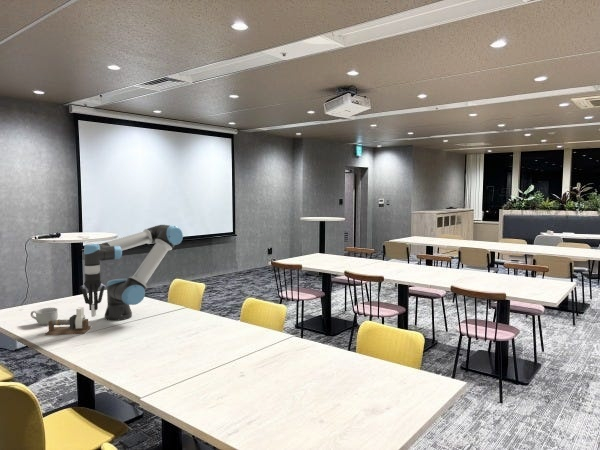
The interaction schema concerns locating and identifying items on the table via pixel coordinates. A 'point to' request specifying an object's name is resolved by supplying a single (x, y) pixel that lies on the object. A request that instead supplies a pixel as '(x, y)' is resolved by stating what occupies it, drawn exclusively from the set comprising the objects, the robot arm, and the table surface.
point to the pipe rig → (66, 330)
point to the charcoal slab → (72, 322)
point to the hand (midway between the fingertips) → (93, 316)
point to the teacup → (45, 315)
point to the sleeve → (79, 317)
